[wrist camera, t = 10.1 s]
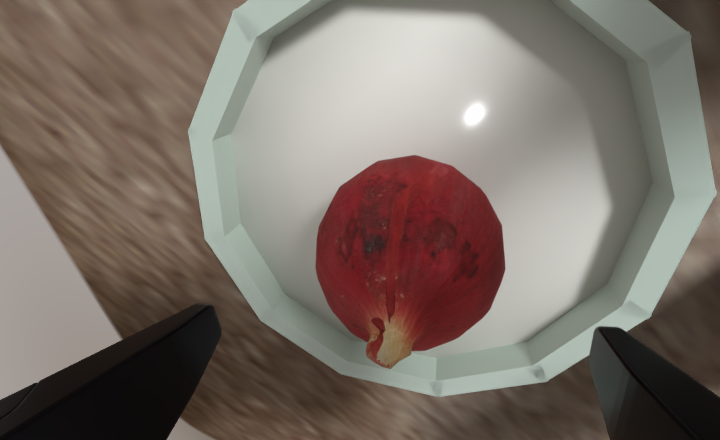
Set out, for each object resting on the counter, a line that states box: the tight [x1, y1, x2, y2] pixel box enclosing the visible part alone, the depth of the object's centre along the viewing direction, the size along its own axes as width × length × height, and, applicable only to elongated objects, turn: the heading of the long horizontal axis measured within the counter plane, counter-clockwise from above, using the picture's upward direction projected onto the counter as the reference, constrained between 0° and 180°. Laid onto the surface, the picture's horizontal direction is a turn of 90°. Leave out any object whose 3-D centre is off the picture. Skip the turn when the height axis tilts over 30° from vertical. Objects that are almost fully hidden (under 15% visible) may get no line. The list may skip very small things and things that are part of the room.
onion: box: [315, 155, 506, 369], centre depth 11 cm, size 6×6×8 cm
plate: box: [188, 0, 717, 397], centre depth 14 cm, size 18×18×2 cm
